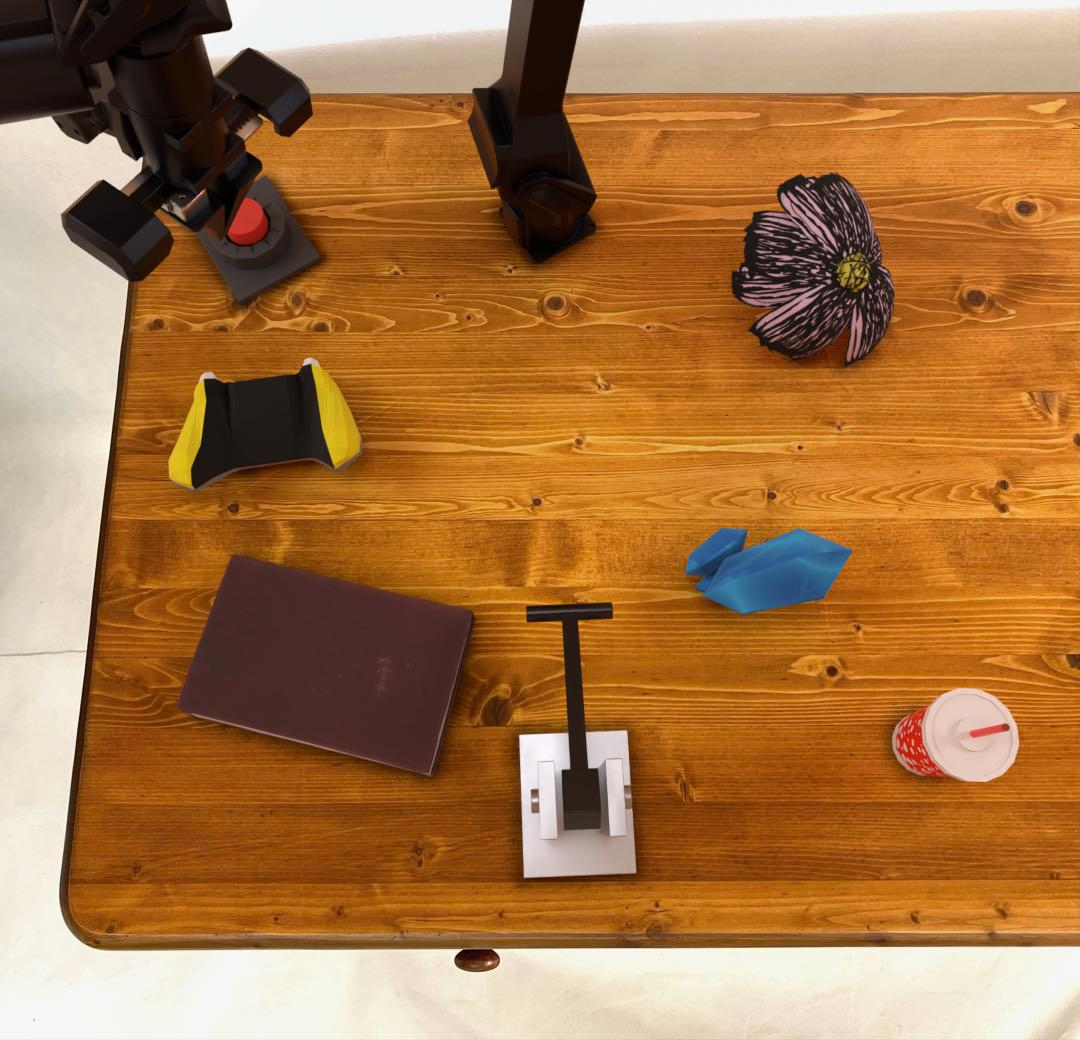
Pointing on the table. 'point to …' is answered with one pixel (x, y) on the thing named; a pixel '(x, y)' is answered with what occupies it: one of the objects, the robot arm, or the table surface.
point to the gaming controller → (264, 426)
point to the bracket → (543, 808)
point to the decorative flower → (816, 271)
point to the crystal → (766, 569)
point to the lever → (575, 713)
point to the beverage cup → (958, 737)
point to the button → (248, 223)
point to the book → (329, 664)
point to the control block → (263, 249)
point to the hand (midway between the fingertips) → (218, 234)
